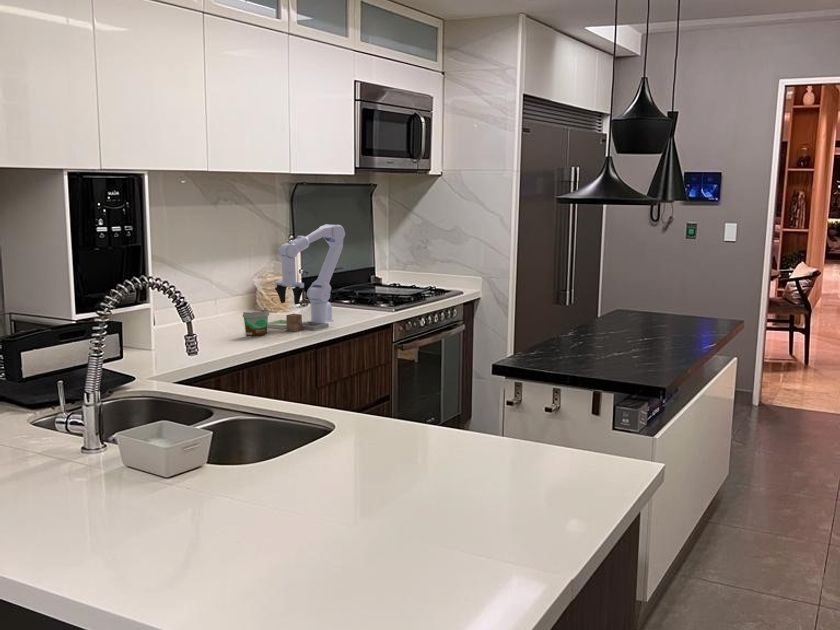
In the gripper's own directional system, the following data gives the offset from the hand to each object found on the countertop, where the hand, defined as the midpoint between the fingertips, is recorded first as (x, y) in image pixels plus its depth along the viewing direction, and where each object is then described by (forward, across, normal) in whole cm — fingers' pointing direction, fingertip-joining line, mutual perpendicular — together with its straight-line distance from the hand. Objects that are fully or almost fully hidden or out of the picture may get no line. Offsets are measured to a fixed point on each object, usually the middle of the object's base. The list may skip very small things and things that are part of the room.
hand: (289, 303), depth 358 cm
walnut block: (+9, +10, -10) cm, 17 cm away
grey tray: (+10, +12, 0) cm, 16 cm away
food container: (+10, +3, -23) cm, 25 cm away
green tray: (+10, -2, -3) cm, 11 cm away
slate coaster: (+10, +10, -10) cm, 17 cm away
